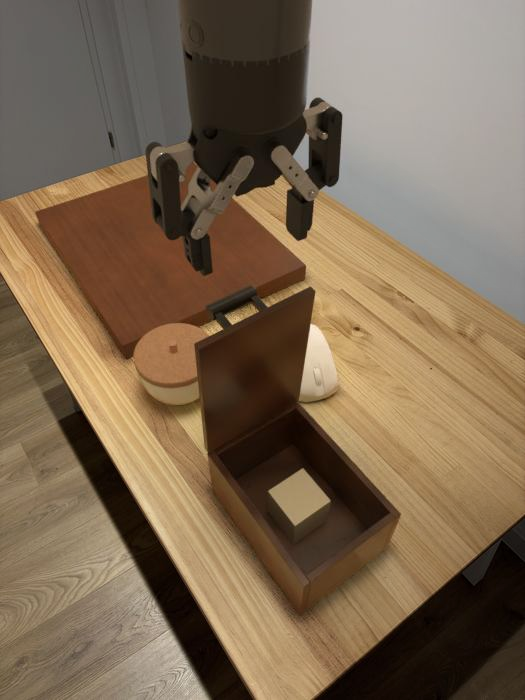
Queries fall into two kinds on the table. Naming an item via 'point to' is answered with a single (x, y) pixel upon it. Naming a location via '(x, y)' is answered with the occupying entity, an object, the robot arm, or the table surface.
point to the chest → (333, 479)
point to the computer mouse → (318, 369)
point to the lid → (251, 362)
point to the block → (298, 505)
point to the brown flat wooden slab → (159, 259)
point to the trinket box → (169, 362)
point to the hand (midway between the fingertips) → (250, 251)
